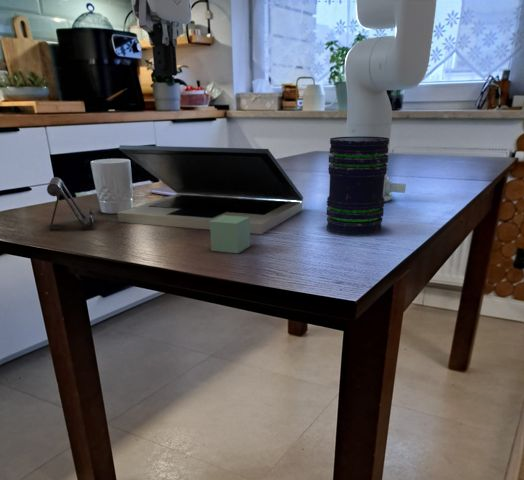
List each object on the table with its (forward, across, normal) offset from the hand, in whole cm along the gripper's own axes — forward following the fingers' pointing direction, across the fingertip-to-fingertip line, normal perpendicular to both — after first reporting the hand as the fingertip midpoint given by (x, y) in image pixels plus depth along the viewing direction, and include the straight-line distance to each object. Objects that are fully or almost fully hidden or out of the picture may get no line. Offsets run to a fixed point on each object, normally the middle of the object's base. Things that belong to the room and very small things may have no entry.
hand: (166, 75), depth 82 cm
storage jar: (+25, +11, -29) cm, 40 cm away
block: (+25, -8, -14) cm, 29 cm away
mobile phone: (+24, +33, +20) cm, 46 cm away
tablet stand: (+25, -4, +21) cm, 33 cm away
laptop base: (+24, +13, 0) cm, 28 cm away
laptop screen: (+17, +15, 0) cm, 23 cm away
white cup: (+25, +11, +22) cm, 35 cm away
